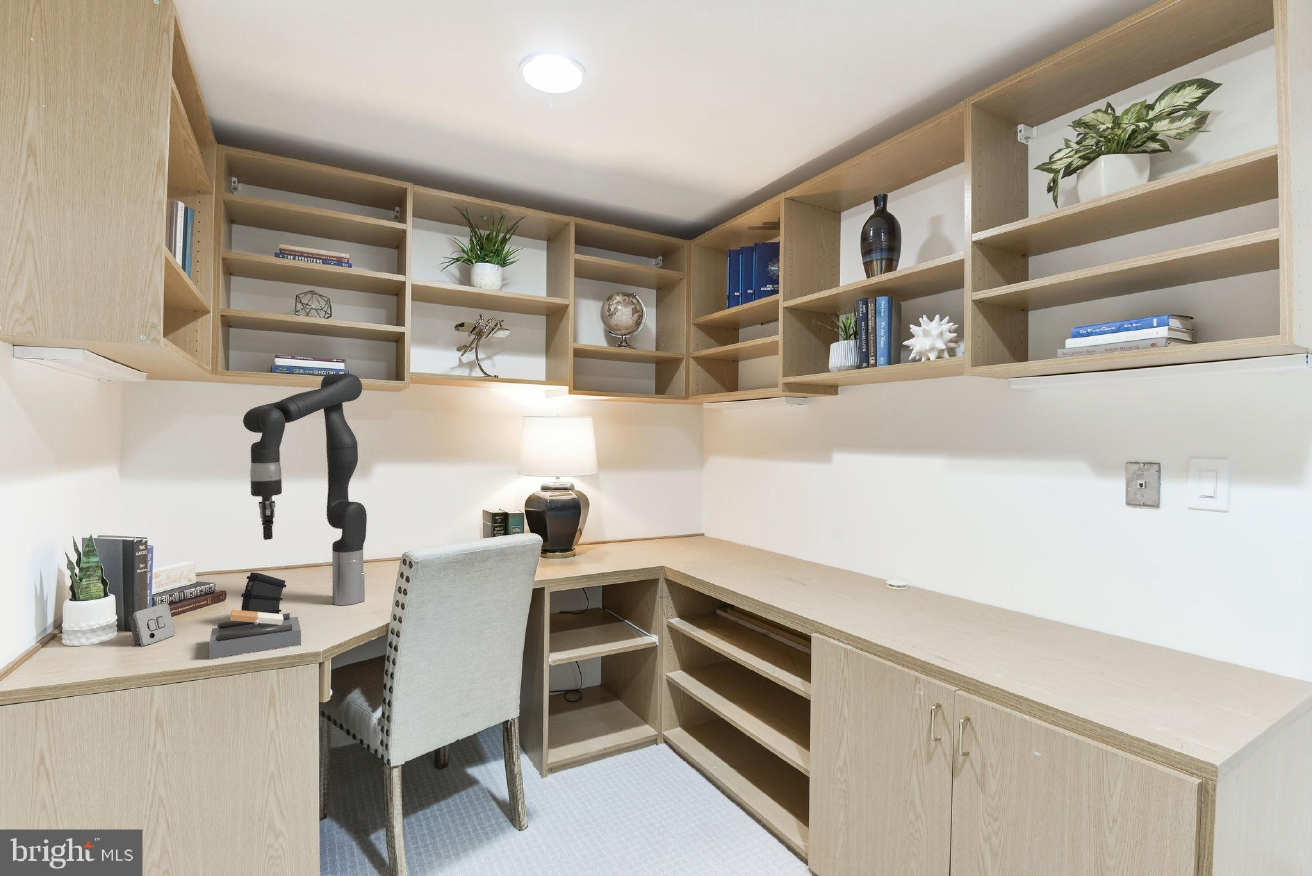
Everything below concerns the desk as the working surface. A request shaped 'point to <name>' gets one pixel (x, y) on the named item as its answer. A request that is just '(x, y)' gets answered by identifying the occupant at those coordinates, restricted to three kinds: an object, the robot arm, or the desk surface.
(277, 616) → the breaker rocker
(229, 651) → the grey low boxy piece
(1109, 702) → the desk surface
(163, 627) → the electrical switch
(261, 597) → the magazine
